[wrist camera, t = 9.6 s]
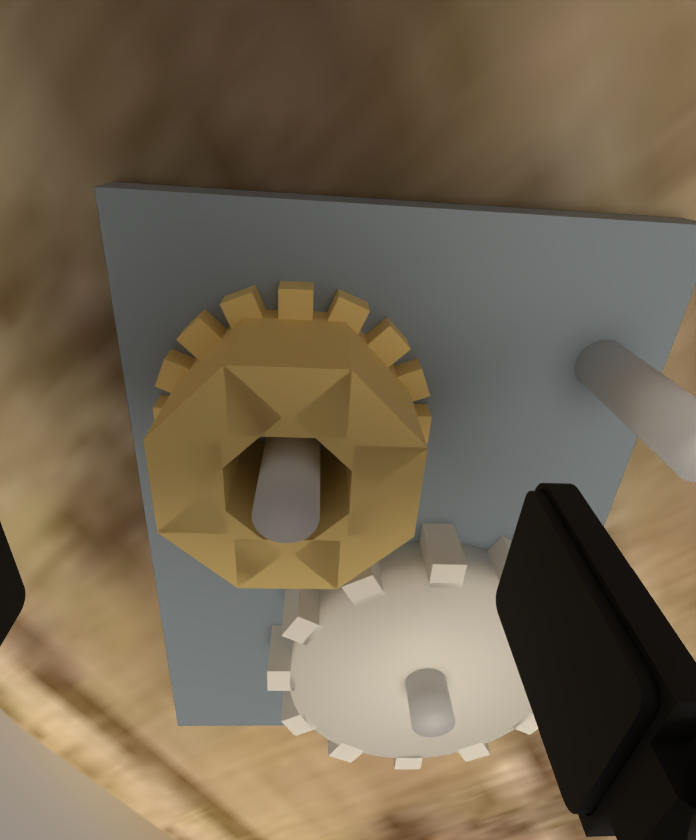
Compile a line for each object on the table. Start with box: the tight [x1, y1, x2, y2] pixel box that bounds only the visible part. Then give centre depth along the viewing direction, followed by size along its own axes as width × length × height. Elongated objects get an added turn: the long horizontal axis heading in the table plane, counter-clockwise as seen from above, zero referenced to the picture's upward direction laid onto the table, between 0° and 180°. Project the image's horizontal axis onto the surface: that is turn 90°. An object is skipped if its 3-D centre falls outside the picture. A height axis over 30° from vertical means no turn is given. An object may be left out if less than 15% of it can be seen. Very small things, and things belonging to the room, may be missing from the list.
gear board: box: [94, 182, 696, 769], centre depth 17 cm, size 22×16×6 cm
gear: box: [143, 281, 432, 589], centre depth 14 cm, size 8×8×4 cm
